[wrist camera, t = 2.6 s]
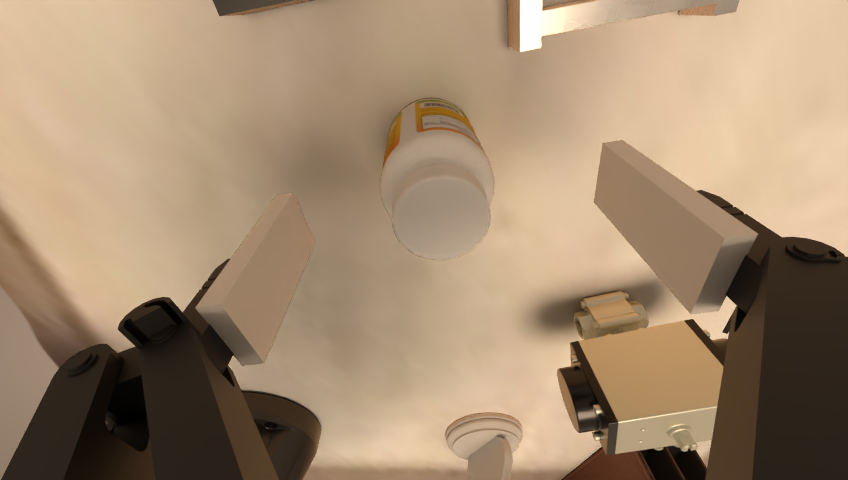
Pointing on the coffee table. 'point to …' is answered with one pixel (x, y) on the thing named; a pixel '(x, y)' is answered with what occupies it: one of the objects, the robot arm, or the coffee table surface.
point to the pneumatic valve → (641, 378)
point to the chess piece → (485, 444)
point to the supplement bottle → (436, 181)
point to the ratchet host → (543, 14)
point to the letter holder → (642, 466)
